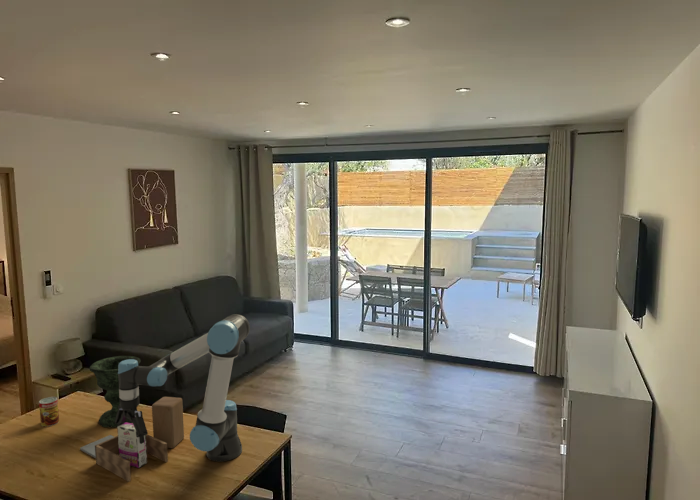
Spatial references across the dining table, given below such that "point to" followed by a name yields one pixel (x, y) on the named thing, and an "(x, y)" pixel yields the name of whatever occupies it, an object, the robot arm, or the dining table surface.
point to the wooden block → (168, 420)
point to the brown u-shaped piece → (119, 465)
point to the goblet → (110, 386)
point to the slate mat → (91, 447)
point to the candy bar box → (131, 445)
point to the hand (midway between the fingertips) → (131, 445)
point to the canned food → (49, 411)
